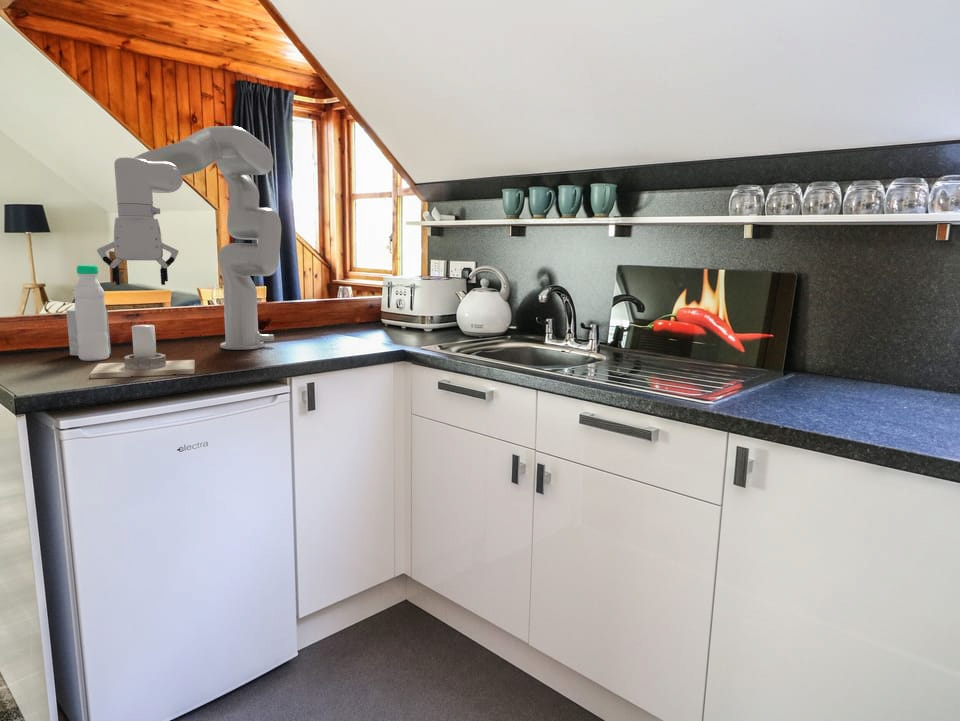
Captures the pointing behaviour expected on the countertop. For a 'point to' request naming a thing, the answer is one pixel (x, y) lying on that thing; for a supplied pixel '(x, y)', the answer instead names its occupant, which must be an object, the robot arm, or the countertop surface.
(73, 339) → the supplement box
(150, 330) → the white round post
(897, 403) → the countertop surface
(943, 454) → the countertop surface
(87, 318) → the milk bottle
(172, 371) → the board
